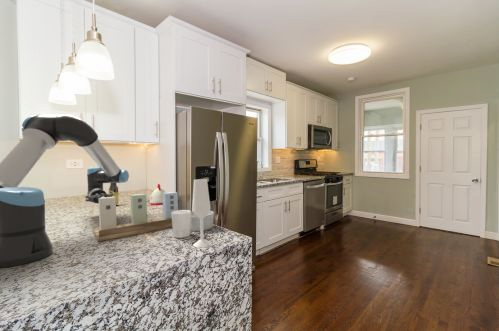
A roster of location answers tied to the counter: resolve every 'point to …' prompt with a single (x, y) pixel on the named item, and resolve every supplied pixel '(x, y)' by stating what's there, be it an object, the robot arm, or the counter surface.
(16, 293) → the counter surface
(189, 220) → the white cup
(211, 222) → the ramekin
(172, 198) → the tile
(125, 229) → the oak board
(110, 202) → the tile
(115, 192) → the sauce bottle
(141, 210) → the tile
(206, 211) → the champagne flute
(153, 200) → the kitchen timer
